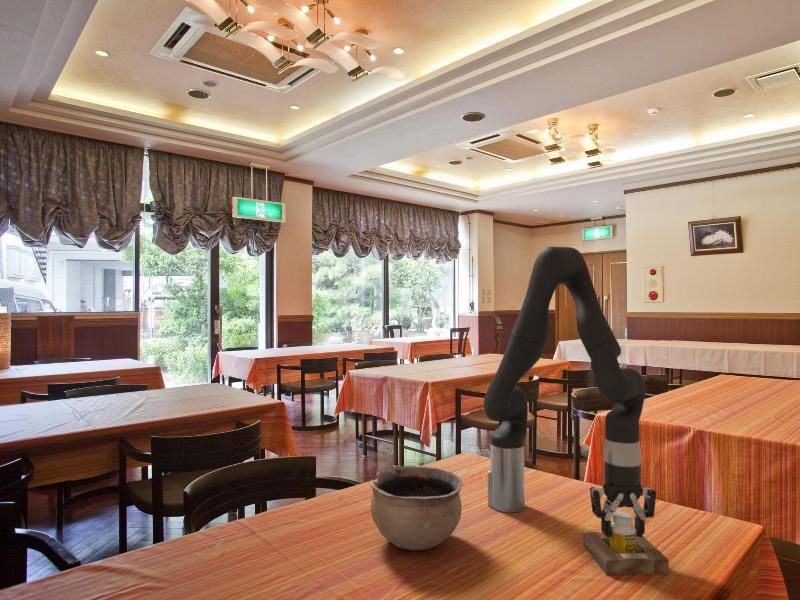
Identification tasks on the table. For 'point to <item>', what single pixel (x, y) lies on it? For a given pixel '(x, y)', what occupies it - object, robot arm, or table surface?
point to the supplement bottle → (622, 533)
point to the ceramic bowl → (416, 505)
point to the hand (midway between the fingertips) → (623, 535)
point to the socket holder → (625, 556)
